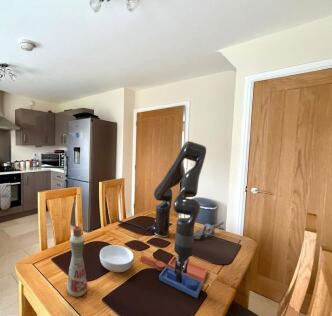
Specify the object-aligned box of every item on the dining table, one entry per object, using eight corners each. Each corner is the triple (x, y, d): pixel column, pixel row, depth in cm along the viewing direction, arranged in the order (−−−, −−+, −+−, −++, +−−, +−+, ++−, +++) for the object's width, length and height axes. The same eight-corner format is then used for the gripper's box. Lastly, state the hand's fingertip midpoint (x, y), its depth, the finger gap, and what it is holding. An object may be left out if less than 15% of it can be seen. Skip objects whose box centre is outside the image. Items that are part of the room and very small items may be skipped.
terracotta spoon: (139, 262, 103) (139, 257, 103) (143, 258, 107) (143, 253, 107) (162, 272, 95) (163, 267, 95) (166, 268, 99) (166, 262, 99)
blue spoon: (165, 278, 91) (166, 272, 90) (169, 273, 94) (169, 268, 94) (195, 292, 83) (195, 286, 82) (197, 286, 86) (198, 280, 86)
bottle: (78, 279, 89) (80, 220, 87) (91, 291, 82) (93, 227, 80) (62, 288, 83) (63, 225, 81) (74, 301, 77) (76, 233, 74)
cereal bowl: (110, 282, 88) (111, 267, 87) (93, 262, 102) (94, 249, 102) (140, 272, 95) (140, 258, 95) (120, 254, 110) (120, 242, 109)
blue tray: (158, 279, 90) (158, 275, 90) (165, 270, 97) (165, 266, 97) (197, 298, 80) (197, 293, 80) (202, 286, 87) (202, 281, 87)
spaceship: (231, 222, 139) (220, 215, 145) (200, 237, 123) (189, 228, 129) (226, 230, 143) (216, 222, 149) (195, 246, 127) (185, 236, 133)
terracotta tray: (167, 267, 100) (167, 263, 99) (173, 259, 107) (173, 255, 106) (203, 282, 89) (203, 278, 89) (207, 272, 96) (207, 268, 96)
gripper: (179, 234, 95) (177, 266, 96) (169, 245, 84) (167, 281, 85) (197, 239, 90) (194, 273, 91) (188, 252, 79) (186, 290, 80)
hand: (181, 277), depth 88 cm, fingers open, 8 cm apart
